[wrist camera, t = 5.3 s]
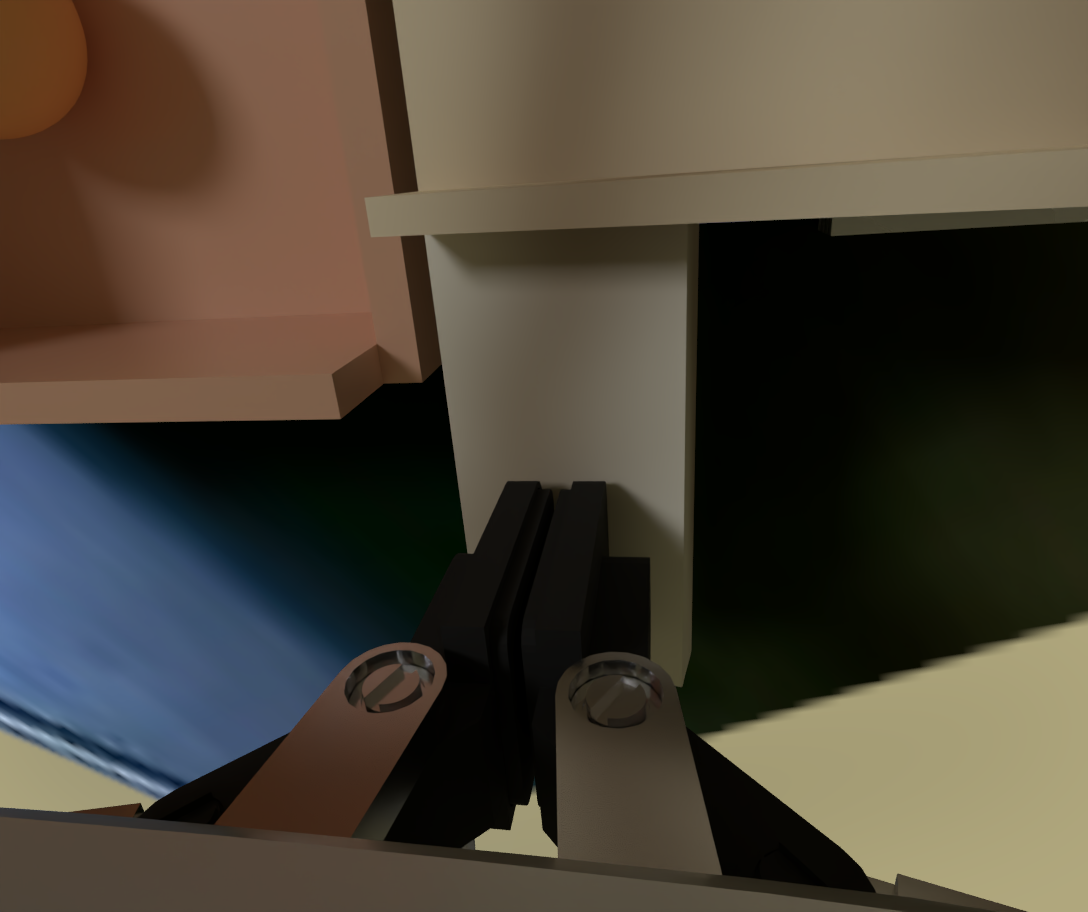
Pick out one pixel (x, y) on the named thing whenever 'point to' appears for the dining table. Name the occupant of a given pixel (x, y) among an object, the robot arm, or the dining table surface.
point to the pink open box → (214, 221)
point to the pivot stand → (949, 220)
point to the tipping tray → (682, 204)
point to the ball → (39, 64)
